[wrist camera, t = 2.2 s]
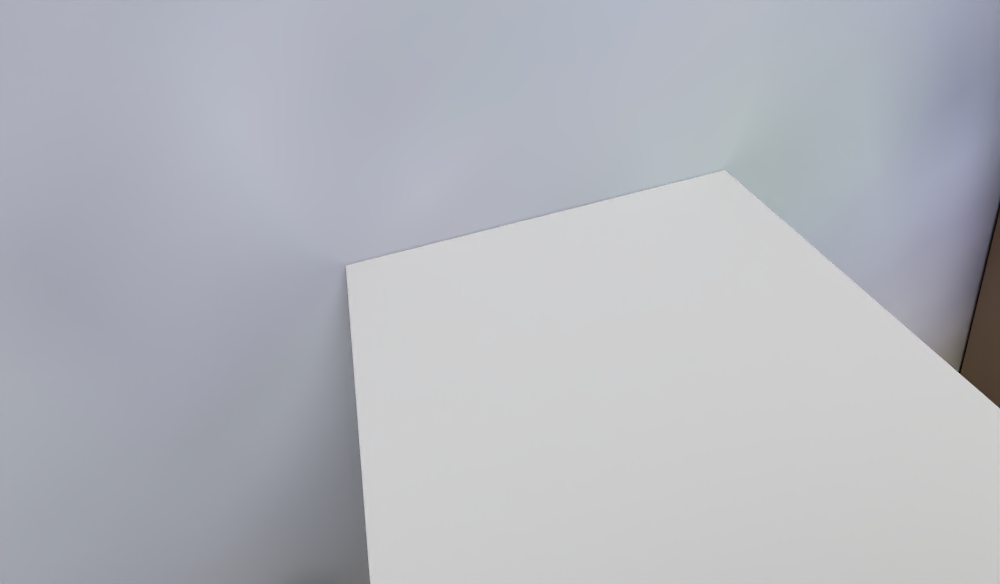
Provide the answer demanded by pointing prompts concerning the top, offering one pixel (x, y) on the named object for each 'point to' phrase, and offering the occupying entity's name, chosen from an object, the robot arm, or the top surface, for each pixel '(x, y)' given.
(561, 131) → the top surface
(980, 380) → the board
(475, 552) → the block
